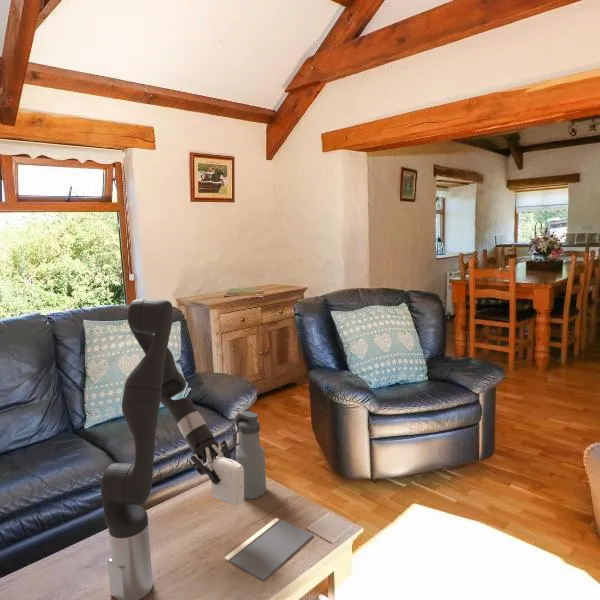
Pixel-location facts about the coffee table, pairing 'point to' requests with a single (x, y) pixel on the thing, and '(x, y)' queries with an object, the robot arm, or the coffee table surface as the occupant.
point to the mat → (269, 548)
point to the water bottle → (250, 454)
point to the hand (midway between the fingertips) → (224, 479)
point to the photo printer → (228, 481)
